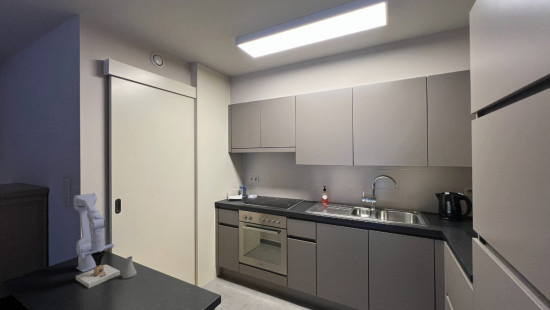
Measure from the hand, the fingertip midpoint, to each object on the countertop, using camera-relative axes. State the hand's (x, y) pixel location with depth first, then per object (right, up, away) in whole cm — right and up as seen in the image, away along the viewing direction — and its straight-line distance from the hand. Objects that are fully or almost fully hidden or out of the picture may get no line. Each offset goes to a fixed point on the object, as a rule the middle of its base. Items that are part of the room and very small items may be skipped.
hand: (98, 265), depth 119 cm
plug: (+1, -7, 0) cm, 7 cm away
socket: (0, -7, 0) cm, 6 cm away
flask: (+17, -6, +1) cm, 18 cm away
